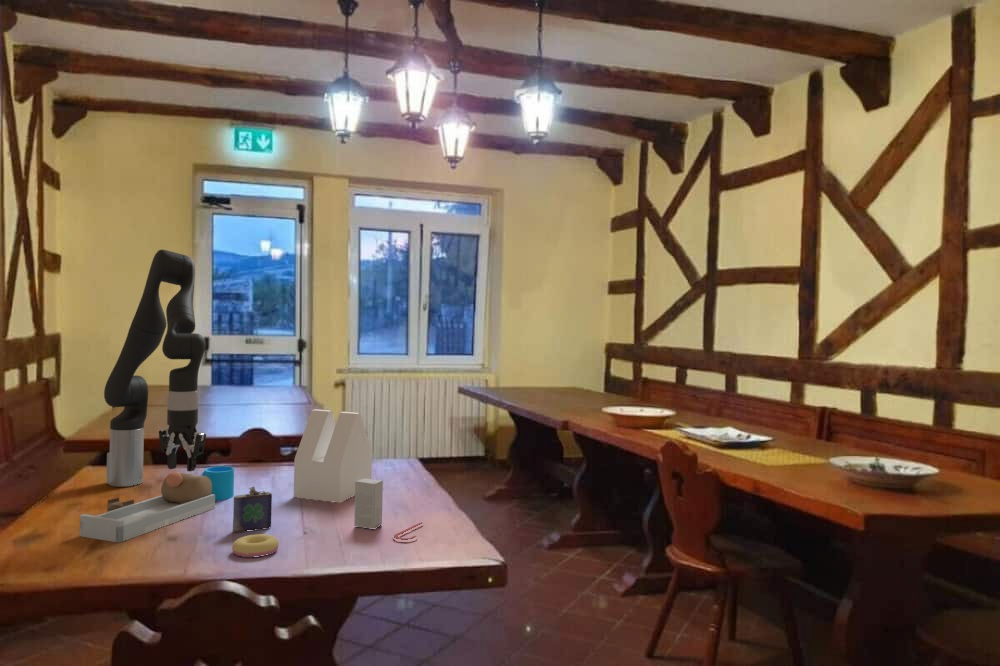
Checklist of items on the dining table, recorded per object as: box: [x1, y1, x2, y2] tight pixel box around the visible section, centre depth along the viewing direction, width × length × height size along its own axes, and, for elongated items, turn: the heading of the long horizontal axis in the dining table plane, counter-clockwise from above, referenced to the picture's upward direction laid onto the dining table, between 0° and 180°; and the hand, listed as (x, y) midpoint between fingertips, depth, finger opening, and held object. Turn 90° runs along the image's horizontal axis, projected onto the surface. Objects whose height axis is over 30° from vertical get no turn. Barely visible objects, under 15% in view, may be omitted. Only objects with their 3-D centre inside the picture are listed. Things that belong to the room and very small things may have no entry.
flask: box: [232, 486, 273, 533], centre depth 177 cm, size 9×3×11 cm, turn 121°
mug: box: [200, 465, 235, 502], centre depth 207 cm, size 12×8×8 cm
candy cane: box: [393, 522, 423, 540], centre depth 178 cm, size 6×15×2 cm, turn 155°
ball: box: [165, 471, 182, 487], centre depth 188 cm, size 4×4×4 cm
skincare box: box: [353, 478, 384, 528], centre depth 183 cm, size 6×4×12 cm
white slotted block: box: [293, 409, 373, 503], centre depth 215 cm, size 19×15×25 cm
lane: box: [79, 472, 216, 544], centre depth 181 cm, size 12×32×10 cm, turn 162°
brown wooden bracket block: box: [106, 496, 135, 513], centre depth 188 cm, size 6×3×3 cm, turn 72°
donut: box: [231, 533, 280, 558], centre depth 161 cm, size 10×5×9 cm
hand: (181, 469), depth 190 cm, fingers open, 5 cm apart
